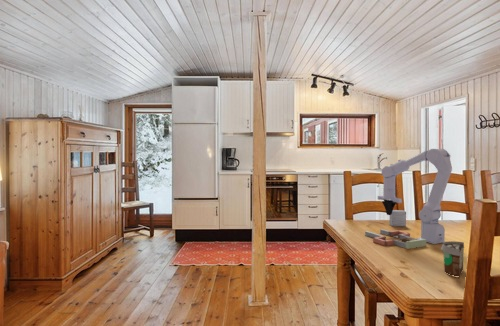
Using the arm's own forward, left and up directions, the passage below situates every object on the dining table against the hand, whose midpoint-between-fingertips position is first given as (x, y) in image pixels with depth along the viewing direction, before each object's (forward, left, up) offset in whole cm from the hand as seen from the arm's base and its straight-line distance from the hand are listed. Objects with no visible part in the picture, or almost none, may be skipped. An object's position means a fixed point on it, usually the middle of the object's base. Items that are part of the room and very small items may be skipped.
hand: (389, 214), depth 172 cm
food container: (-52, +25, -10) cm, 58 cm away
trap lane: (-13, +10, -9) cm, 19 cm away
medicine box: (+10, -17, -10) cm, 22 cm away
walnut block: (-21, +9, -10) cm, 25 cm away
